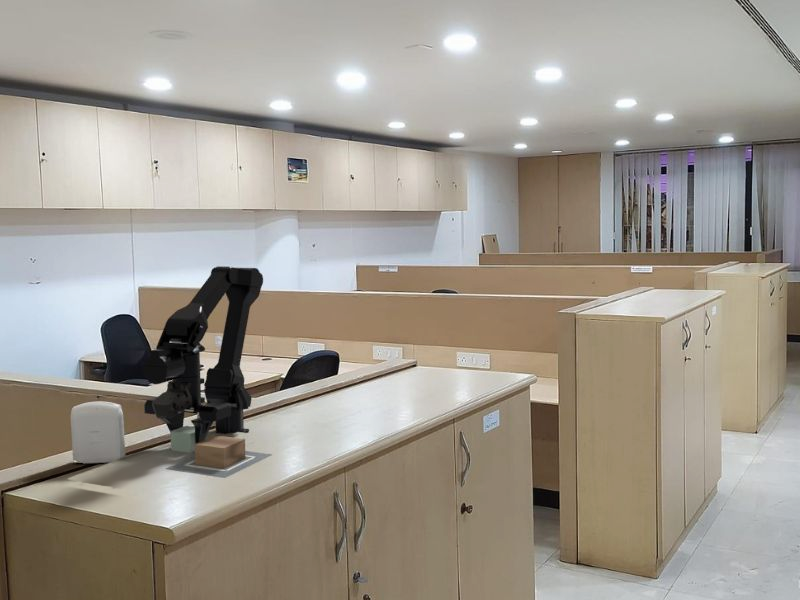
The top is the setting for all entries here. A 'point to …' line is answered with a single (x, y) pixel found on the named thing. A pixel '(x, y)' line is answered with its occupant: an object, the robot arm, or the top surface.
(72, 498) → the top surface
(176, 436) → the sage cube
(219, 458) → the walnut block
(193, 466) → the board
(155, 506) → the top surface
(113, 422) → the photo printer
